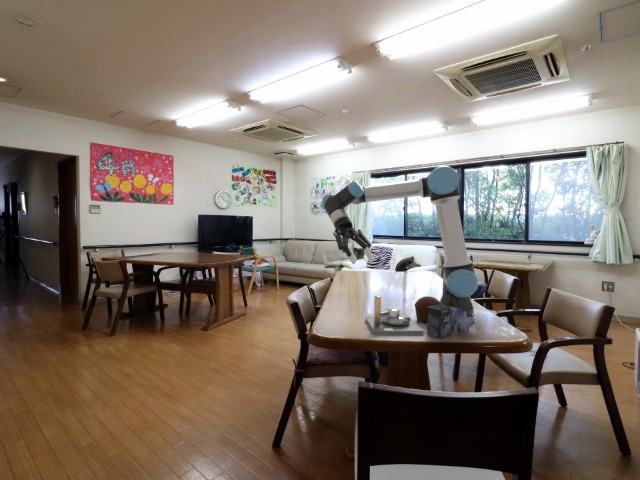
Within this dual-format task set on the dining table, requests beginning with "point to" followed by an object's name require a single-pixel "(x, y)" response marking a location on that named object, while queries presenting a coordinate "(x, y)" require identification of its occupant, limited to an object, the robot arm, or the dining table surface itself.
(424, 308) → the muffin
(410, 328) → the stand
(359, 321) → the dining table surface
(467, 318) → the flower
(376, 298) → the crank handle
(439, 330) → the box
